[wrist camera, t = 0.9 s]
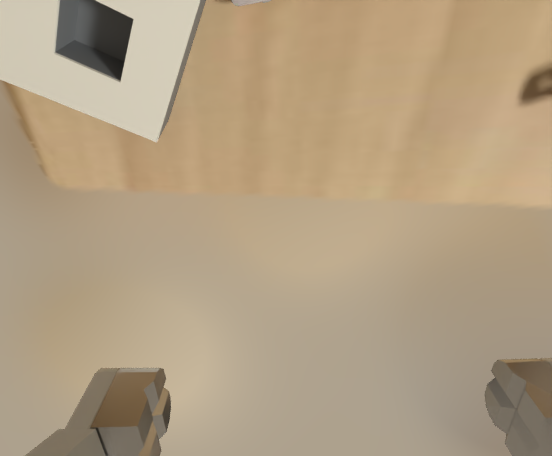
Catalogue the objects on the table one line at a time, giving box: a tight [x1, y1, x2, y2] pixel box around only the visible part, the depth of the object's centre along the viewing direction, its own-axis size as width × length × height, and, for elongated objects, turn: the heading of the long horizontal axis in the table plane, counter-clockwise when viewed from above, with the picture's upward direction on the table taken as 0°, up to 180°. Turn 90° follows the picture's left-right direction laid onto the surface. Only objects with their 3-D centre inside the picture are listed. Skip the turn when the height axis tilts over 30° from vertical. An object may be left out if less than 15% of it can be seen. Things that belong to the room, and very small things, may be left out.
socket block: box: [0, 0, 206, 142], centre depth 41 cm, size 18×18×6 cm
